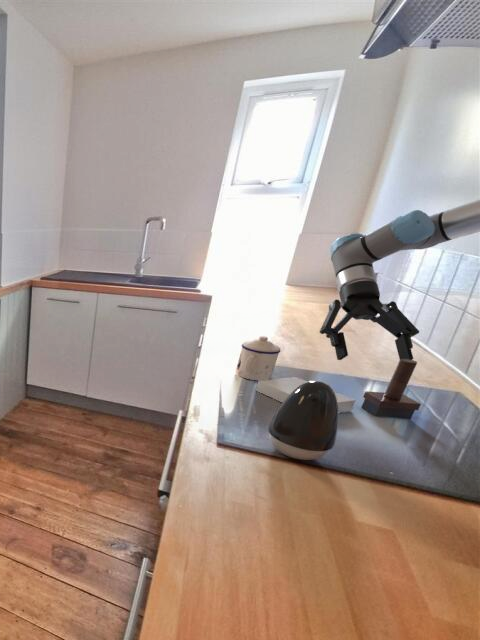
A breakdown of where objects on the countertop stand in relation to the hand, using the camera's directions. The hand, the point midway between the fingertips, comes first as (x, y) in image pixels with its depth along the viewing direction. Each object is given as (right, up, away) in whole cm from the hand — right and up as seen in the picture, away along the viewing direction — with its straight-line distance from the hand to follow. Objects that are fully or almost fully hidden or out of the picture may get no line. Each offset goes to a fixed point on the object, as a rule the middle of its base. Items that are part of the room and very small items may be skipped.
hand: (374, 359), depth 102 cm
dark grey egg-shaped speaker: (-36, -20, -20) cm, 46 cm away
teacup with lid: (-20, -4, +16) cm, 26 cm away
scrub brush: (-2, -13, -5) cm, 14 cm away
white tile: (-17, -10, +1) cm, 20 cm away
